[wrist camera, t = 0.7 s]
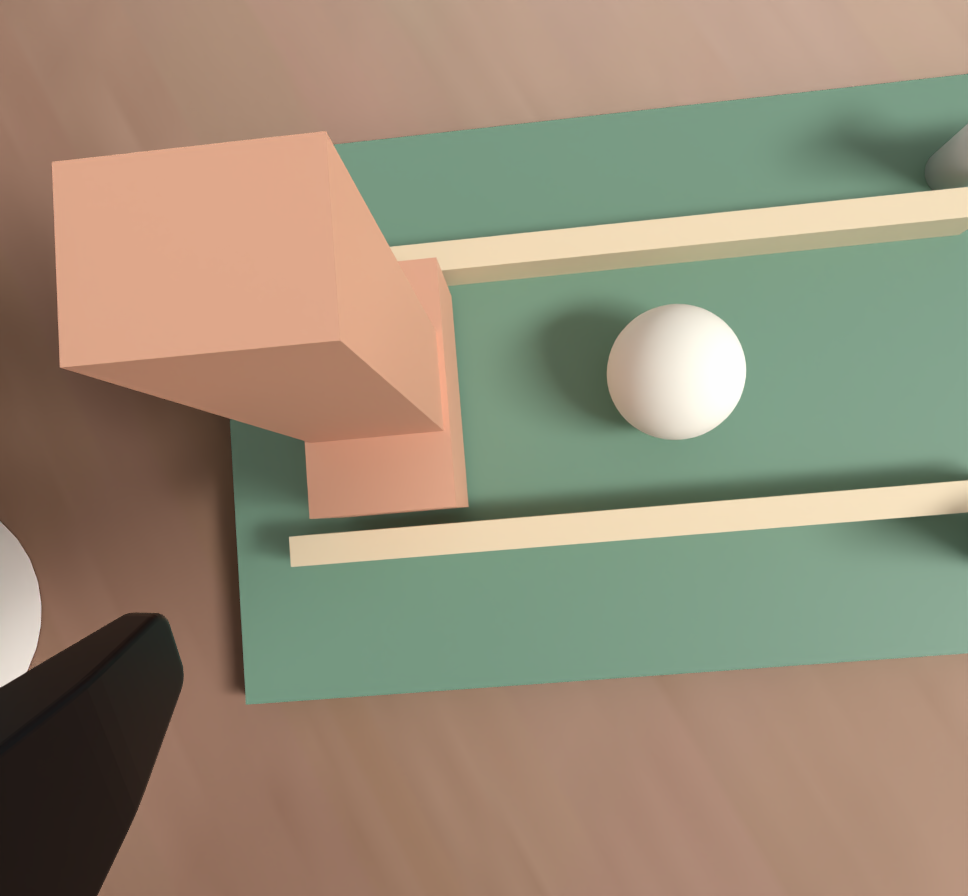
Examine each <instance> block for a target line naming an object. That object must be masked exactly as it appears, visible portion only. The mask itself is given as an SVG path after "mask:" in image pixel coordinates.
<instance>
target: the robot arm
mask: <svg viewBox="0 0 968 896" xmlns="http://www.w3.org/2000/svg"><path fill="white" fill-rule="evenodd" d="M183 677H184V673H183V665H182V662H181V659H180V656H179V653H178V649H177V646H176V643H175V640H174V637H173V634H172V631H171V627H170V624H169V622H168V620H167V619H166V618H165V616H163V615H161V614H159V613H128V614H125V615H123V616H121V617H119V618H118V619H116V620H114V621H113V622H111V623H109V624H107V625H106V626H104V627H102V628H101V629H99V630H97V631H96V632H94V633H92V634H90V635H89V636H87V637H85V638H84V639H82V640H80V641H79V642H77V643H75V644H73V645H72V646H70V647H68V648H67V649H65V650H63V651H62V652H60V653H58V654H56V655H55V656H53V657H51V658H50V659H48V660H46V661H45V662H43V663H41V664H39V665H38V666H36V667H34V668H33V669H31V670H29V671H28V672H26V673H24V674H22V675H21V676H19V677H17V678H16V679H14V680H12V681H11V682H9V683H7V684H5V685H4V686H2V687H0V896H97V895H98V893H99V891H100V889H101V887H102V885H103V883H104V880H105V878H106V876H107V874H108V872H109V870H110V868H111V866H112V864H113V862H114V859H115V857H116V855H117V853H118V851H119V849H120V847H121V845H122V843H123V841H124V838H125V836H126V834H127V832H128V830H129V828H130V825H131V823H132V821H133V819H134V817H135V814H136V812H137V810H138V807H139V805H140V802H141V800H142V797H143V795H144V792H145V789H146V787H147V784H148V781H149V778H150V775H151V773H152V770H153V767H154V764H155V761H156V759H157V756H158V753H159V750H160V748H161V745H162V742H163V739H164V736H165V734H166V731H167V728H168V725H169V723H170V720H171V717H172V714H173V711H174V709H175V706H176V703H177V700H178V697H179V695H180V692H181V689H182V685H183Z"/></svg>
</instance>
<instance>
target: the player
mask: <svg viewBox="0 0 968 896" xmlns="http://www.w3.org/2000/svg"><path fill="white" fill-rule="evenodd" d="M52 177H53V202H54V228H55V254H56V280H57V306H58V331H59V357H60V368H63V369H66V370H69V371H73V372H76V373H79V374H83V375H86V376H89V377H93V378H96V379H99V380H103V381H106V382H109V383H113V384H116V385H119V386H123V387H126V388H129V389H133V390H136V391H139V392H143V393H146V394H149V395H153V396H156V397H159V398H163V399H166V400H169V401H173V402H176V403H179V404H183V405H186V406H189V407H193V408H196V409H200V410H203V411H206V412H210V413H213V414H216V415H220V416H223V417H226V418H230V419H233V420H236V421H240V422H243V423H246V424H250V425H253V426H256V427H260V428H263V429H266V430H270V431H273V432H276V433H280V434H283V435H286V436H290V437H293V438H296V439H300V440H303V441H305V455H306V471H307V486H308V502H309V517H310V519H320V518H345V517H357V516H369V515H381V514H393V513H404V512H416V511H428V510H440V509H452V508H464V507H469V504H468V492H467V480H466V467H465V455H464V443H463V431H462V418H461V406H460V394H459V382H458V369H457V357H456V345H455V332H454V320H453V308H452V296H451V294H450V291H449V289H448V286H447V283H446V281H445V278H444V276H443V273H442V271H441V268H440V265H439V263H438V260H437V258H436V257H435V258H425V259H415V260H405V261H397V259H396V258H395V256H394V254H393V252H392V250H391V249H390V247H389V245H388V243H387V241H386V239H385V238H384V236H383V234H382V232H381V230H380V229H379V227H378V225H377V223H376V221H375V220H374V218H373V216H372V214H371V212H370V210H369V209H368V207H367V205H366V203H365V201H364V200H363V198H362V196H361V194H360V192H359V190H358V189H357V187H356V185H355V183H354V181H353V180H352V178H351V176H350V174H349V172H348V170H347V169H346V167H345V165H344V163H343V161H342V160H341V158H340V156H339V154H338V152H337V150H336V149H335V147H334V145H333V143H332V141H331V140H330V138H329V136H328V134H327V132H326V131H322V132H313V133H305V134H296V135H287V136H278V137H269V138H260V139H251V140H242V141H233V142H225V143H216V144H207V145H198V146H189V147H180V148H171V149H162V150H153V151H145V152H136V153H127V154H118V155H109V156H100V157H91V158H82V159H73V160H65V161H56V162H52Z"/></svg>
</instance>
